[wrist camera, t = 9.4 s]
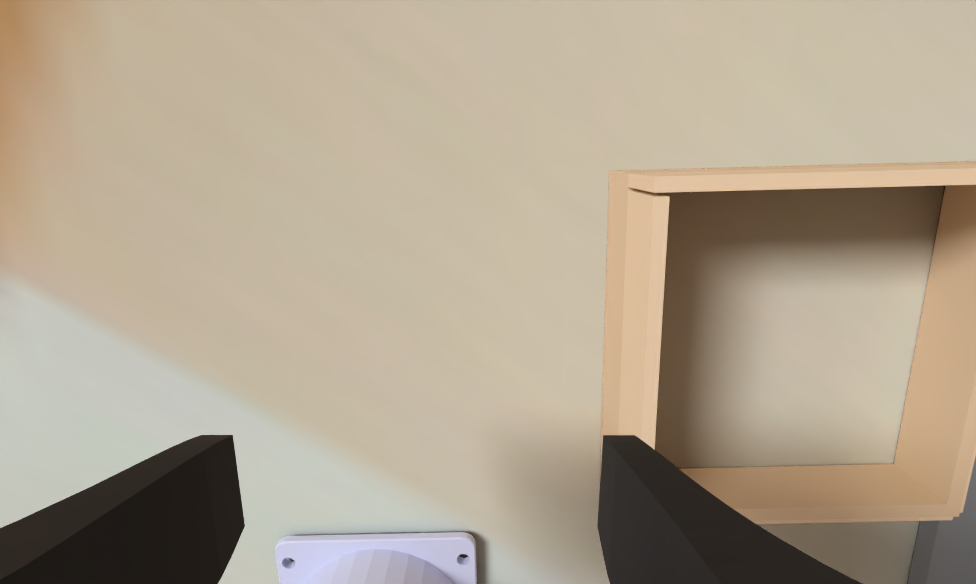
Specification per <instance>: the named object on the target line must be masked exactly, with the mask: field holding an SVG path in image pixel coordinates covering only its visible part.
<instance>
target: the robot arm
mask: <svg viewBox="0 0 976 584" xmlns="http://www.w3.org/2000/svg"><path fill="white" fill-rule="evenodd" d="M244 526H245V525H244V517H243V510H242V502H241V495H240V487H239V480H238V472H237V465H236V457H235V450H234V442H233V435H201V436H198V437H195V438H192V439H190V440H187V441H185V442H182V443H180V444H178V445H176V446H173V447H171V448H169V449H167V450H165V451H163V452H161V453H159V454H157V455H155V456H152V457H150V458H148V459H146V460H144V461H142V462H140V463H138V464H136V465H134V466H132V467H130V468H128V469H126V470H124V471H122V472H120V473H118V474H116V475H114V476H112V477H110V478H108V479H106V480H104V481H102V482H100V483H98V484H96V485H94V486H92V487H90V488H87V489H85V490H83V491H81V492H79V493H77V494H75V495H72V496H70V497H68V498H66V499H64V500H62V501H60V502H57V503H55V504H53V505H51V506H49V507H47V508H44V509H42V510H40V511H38V512H36V513H34V514H31V515H29V516H27V517H25V518H23V519H21V520H18V521H16V522H14V523H12V524H9V525H7V526H5V527H2V528H0V584H218V582H219V580H220V579H221V577H222V575H223V573H224V571H225V569H226V567H227V564H228V562H229V560H230V558H231V556H232V554H233V552H234V549H235V547H236V545H237V542H238V540H239V538H240V536H241V533H242V531H243V529H244ZM598 530H599V535H600V541H601V546H602V551H603V556H604V560H605V565H606V569H607V574H608V578H609V581H610V584H862V583H860V582H858V581H856V580H854V579H852V578H850V577H848V576H846V575H844V574H842V573H840V572H838V571H836V570H834V569H832V568H830V567H828V566H827V565H825V564H823V563H821V562H819V561H817V560H816V559H814V558H812V557H810V556H809V555H807V554H805V553H803V552H802V551H800V550H798V549H796V548H795V547H793V546H791V545H789V544H788V543H786V542H784V541H782V540H781V539H779V538H777V537H776V536H774V535H773V534H771V533H769V532H768V531H766V530H764V529H763V528H761V527H760V526H758V525H757V524H755V523H754V522H752V521H751V520H749V519H748V518H746V517H745V516H743V515H742V514H740V513H739V512H737V511H736V510H734V509H733V508H731V507H730V506H728V505H727V504H725V503H724V502H723V501H721V500H720V499H718V498H717V497H716V496H714V495H713V494H711V493H710V492H709V491H707V490H706V489H705V488H703V487H702V486H701V485H699V484H698V483H697V482H695V481H694V480H693V479H691V478H690V477H689V476H687V475H686V474H685V473H683V472H682V471H681V470H680V469H678V468H677V467H676V466H674V465H673V464H672V463H671V462H669V461H668V460H667V459H666V458H664V457H663V456H662V455H660V454H659V453H658V452H657V451H655V450H654V449H653V448H652V447H650V446H649V445H648V444H646V443H645V442H644V441H642V440H641V439H640V438H638V437H637V436H635V435H603V446H602V462H601V479H600V495H599V512H598ZM460 554H466V555H468V557H466V558H462V557H460V556H459V555H460ZM275 555H276V562H277V569H278V575H279V582H280V584H477V567H476V542H475V538H474V537H473V536H472V535H471V534H469V533H465V532H446V533H400V534H354V535H308V536H286V537H283V538H282V539H280V541H279V542H278V544H277V546H276V548H275ZM287 558H292V559H293V560H294V561H289V560H288V559H287Z"/></svg>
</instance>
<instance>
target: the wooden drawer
mask: <svg viewBox="0 0 976 584" xmlns="http://www.w3.org/2000/svg"><path fill="white" fill-rule="evenodd" d="M940 185H946V186H945V192H944V197H943V202H942V208H941V213H940V218H939V224H938V229H937V235H936V240H935V245H934V251H933V256H932V261H931V267H930V272H929V277H928V283H927V288H926V294H925V299H924V304H923V310H922V315H921V320H920V326H919V331H918V336H917V342H916V347H915V353H914V358H913V363H912V369H911V374H910V379H909V385H908V390H907V395H906V401H905V406H904V412H903V417H902V422H901V428H900V433H899V438H898V444H897V449H896V455H895V460H894V464H864V465H819V466H774V467H730V468H685V469H680V470H681V471H682V472H683V473H685V474H686V475H687V476H689V477H690V478H691V479H693V480H694V481H695V482H697V483H698V484H699V485H701V486H702V487H703V488H705V489H706V490H707V491H709V492H710V493H711V494H713V495H714V496H716V497H717V498H718V499H720V500H721V501H723V502H724V503H725V504H727V505H728V506H730V507H731V508H733V509H734V510H736V511H737V512H739V513H740V514H742V515H743V516H745V517H746V518H748V519H749V520H751V521H752V522H754V523H755V524H798V523H844V522H890V521H936V520H953V517H959V514H960V513H963V509H964V504H965V500H966V496H967V491H968V487H969V482H970V478H971V474H972V469H973V465H974V461H975V456H976V162H937V163H898V164H859V165H820V166H781V167H742V168H703V169H664V170H625V171H610V180H609V211H608V243H607V275H606V307H605V339H604V371H603V403H602V435H601V462H602V446H603V435H635V436H637V437H638V438H640V439H641V440H642V441H644V442H645V443H646V444H648V445H649V446H650V447H652V448H653V449H654V450H655V434H656V417H657V400H658V383H659V367H660V350H661V333H662V316H663V299H664V283H665V266H666V249H667V232H668V215H669V198H670V196H666V195H661V194H657V193H664V192H704V191H743V190H782V189H822V188H861V187H901V186H940ZM652 192H653V193H652ZM600 479H601V467H600Z"/></svg>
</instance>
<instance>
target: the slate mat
mask: <svg viewBox="0 0 976 584" xmlns="http://www.w3.org/2000/svg"><path fill="white" fill-rule="evenodd" d="M907 584H976V456H975V461H974V465H973V469H972V474H971V478H970V482H969V487H968V491H967V496H966V500H965V504H964V509H963V513H960V514H959V517H953V520H936V521H920V524H919V529H918V534H917V539H916V544H915V548H914V553H913V558H912V563H911V568H910V573H909V578H908V582H907Z"/></svg>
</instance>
